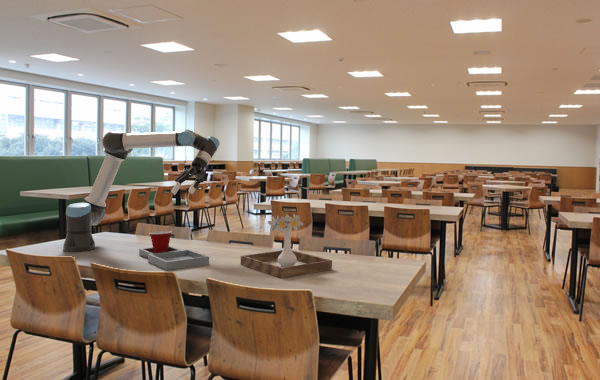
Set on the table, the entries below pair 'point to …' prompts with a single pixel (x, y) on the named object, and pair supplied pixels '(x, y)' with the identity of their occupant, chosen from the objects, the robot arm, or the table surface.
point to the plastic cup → (160, 241)
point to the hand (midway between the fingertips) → (181, 192)
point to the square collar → (146, 251)
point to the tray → (178, 259)
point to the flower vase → (286, 237)
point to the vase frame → (313, 266)
